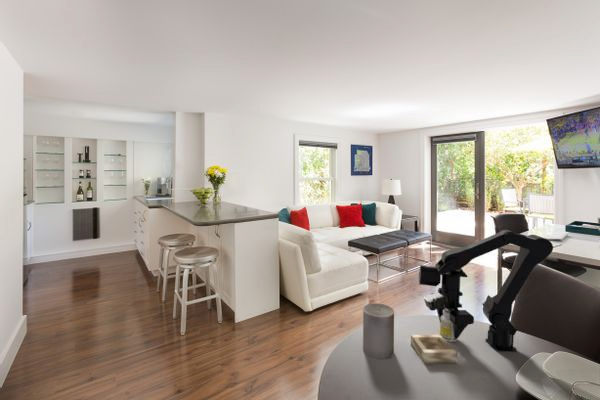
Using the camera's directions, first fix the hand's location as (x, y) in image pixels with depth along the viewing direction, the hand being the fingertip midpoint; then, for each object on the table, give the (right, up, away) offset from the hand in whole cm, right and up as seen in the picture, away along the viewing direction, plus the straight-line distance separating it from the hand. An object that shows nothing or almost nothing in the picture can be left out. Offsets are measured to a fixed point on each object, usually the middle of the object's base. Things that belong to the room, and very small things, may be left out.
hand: (448, 330), depth 102 cm
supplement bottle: (0, -3, 0) cm, 3 cm away
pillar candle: (-27, -3, -7) cm, 28 cm away
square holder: (-10, -3, -9) cm, 14 cm away
